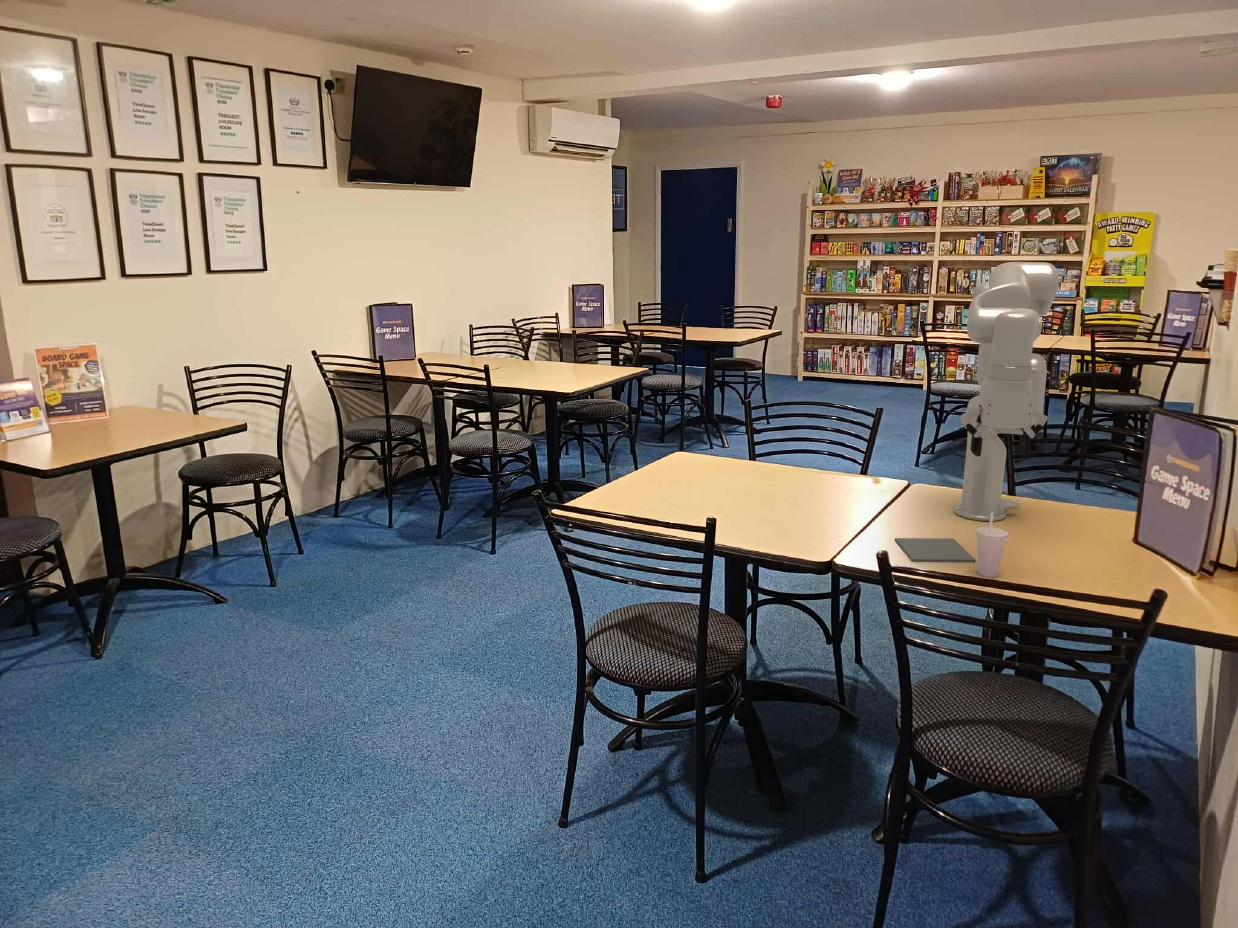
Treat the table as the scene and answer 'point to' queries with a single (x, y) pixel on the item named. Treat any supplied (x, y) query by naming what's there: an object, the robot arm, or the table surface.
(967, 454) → the robot arm
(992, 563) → the white drink cup
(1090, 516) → the table surface
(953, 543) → the coaster mat
